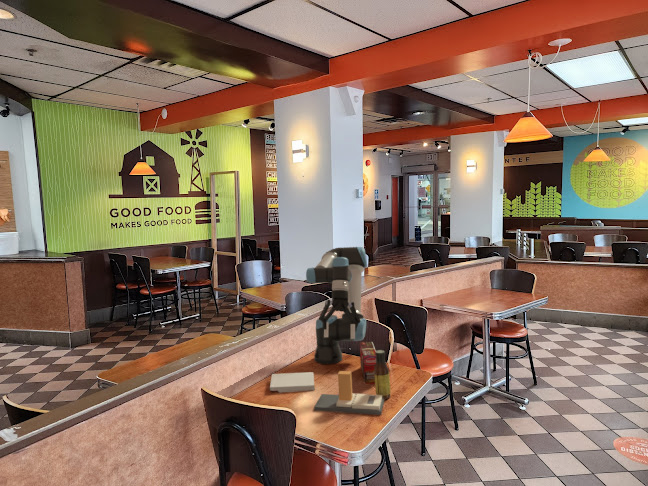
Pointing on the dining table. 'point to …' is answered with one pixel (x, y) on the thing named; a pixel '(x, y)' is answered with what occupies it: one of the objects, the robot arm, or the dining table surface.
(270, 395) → the dining table surface
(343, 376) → the tan block with base
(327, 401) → the mat
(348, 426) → the dining table surface
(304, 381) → the grey flat slab
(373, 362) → the ice cream box
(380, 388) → the sauce bottle
